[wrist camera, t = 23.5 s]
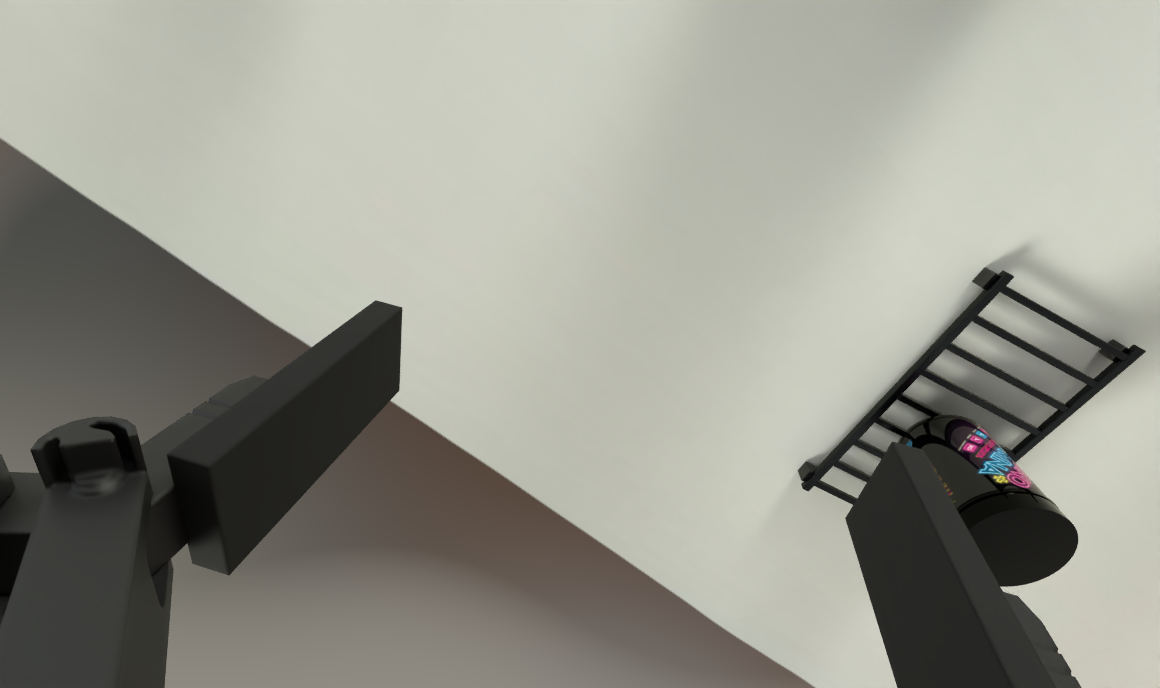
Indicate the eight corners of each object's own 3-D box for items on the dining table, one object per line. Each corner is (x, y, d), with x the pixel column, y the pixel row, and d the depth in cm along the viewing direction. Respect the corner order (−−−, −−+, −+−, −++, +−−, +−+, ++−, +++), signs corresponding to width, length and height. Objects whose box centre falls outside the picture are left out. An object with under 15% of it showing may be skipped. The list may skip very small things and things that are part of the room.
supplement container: (985, 471, 44) (1075, 580, 34) (894, 485, 45) (957, 593, 36) (984, 402, 41) (1082, 499, 32) (887, 419, 43) (953, 517, 33)
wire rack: (989, 262, 38) (1003, 270, 37) (1130, 341, 40) (1150, 353, 38) (794, 473, 48) (799, 487, 46) (912, 531, 49) (921, 546, 48)
